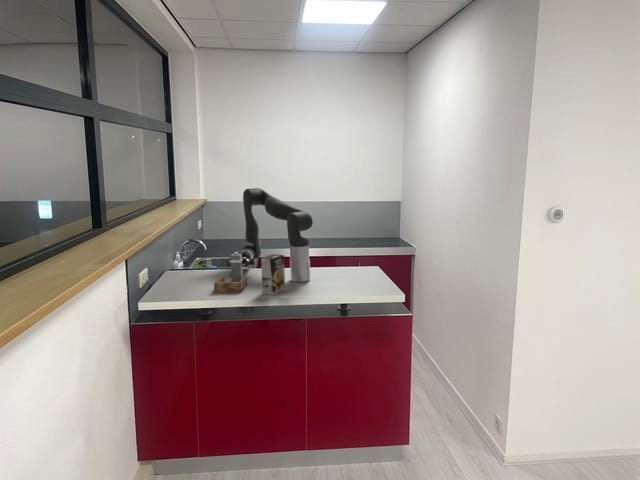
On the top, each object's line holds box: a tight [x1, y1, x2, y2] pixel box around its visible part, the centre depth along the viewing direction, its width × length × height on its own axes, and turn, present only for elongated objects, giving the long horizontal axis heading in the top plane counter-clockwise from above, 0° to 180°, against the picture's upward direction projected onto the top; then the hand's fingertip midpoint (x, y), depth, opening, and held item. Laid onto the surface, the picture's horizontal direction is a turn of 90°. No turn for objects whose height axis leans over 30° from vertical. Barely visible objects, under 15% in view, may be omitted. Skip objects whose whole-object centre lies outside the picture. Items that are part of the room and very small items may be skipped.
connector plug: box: [230, 251, 244, 282], centre depth 218 cm, size 5×5×14 cm
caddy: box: [213, 275, 248, 294], centre depth 205 cm, size 12×13×4 cm
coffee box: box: [260, 253, 286, 296], centre depth 198 cm, size 9×6×16 cm
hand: (237, 265), depth 219 cm, fingers open, 8 cm apart
